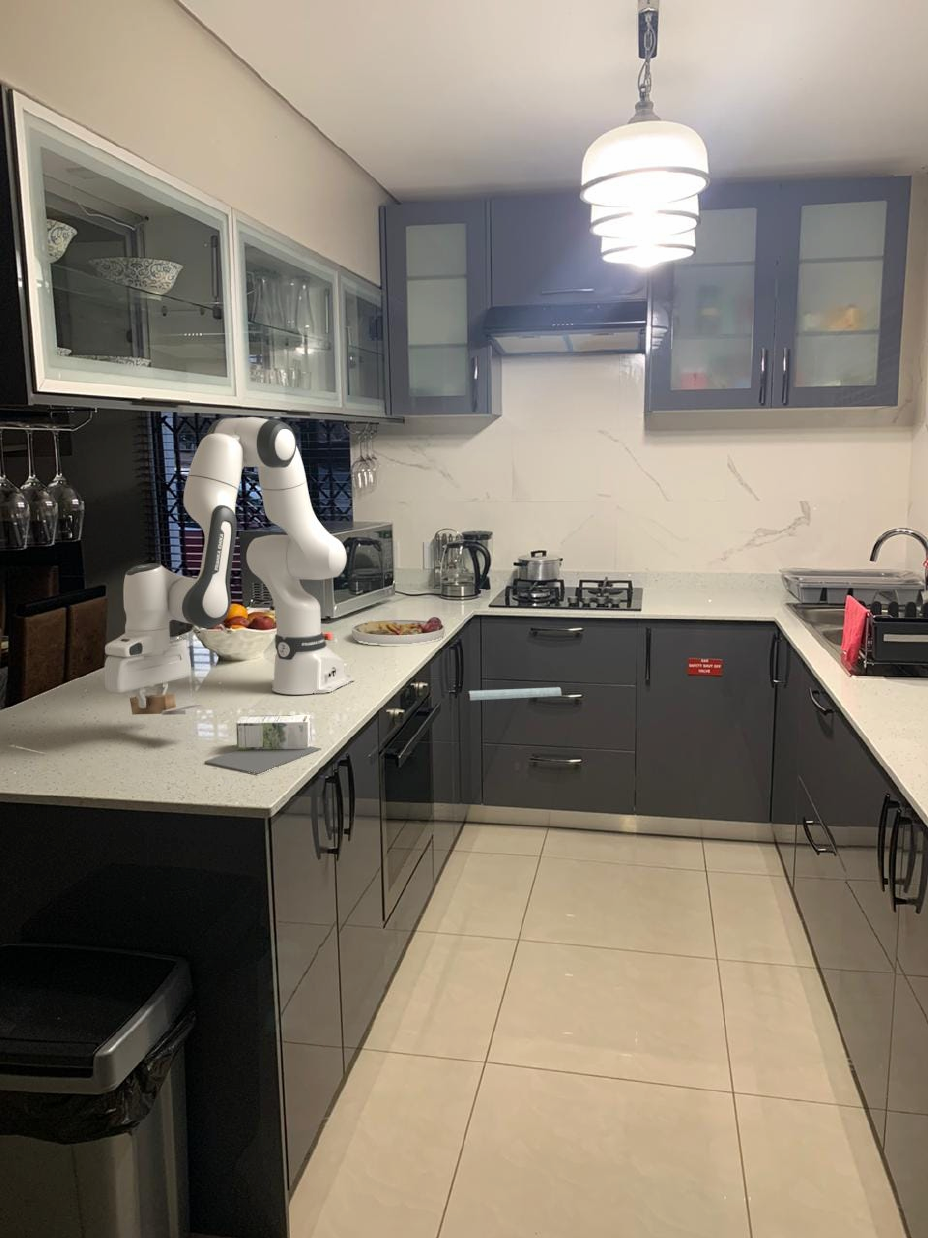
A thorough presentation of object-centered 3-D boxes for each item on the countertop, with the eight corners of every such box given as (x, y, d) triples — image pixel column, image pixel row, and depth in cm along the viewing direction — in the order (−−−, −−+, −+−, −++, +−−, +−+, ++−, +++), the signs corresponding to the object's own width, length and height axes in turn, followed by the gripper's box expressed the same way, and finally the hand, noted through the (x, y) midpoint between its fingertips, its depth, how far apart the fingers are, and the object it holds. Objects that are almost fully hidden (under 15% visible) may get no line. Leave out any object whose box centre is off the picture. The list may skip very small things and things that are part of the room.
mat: (269, 741, 199) (269, 738, 199) (321, 751, 191) (321, 748, 191) (204, 764, 184) (204, 761, 183) (258, 776, 176) (258, 773, 176)
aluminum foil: (558, 699, 234) (558, 685, 234) (565, 706, 228) (565, 692, 227) (467, 703, 231) (467, 689, 231) (471, 710, 225) (471, 695, 224)
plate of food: (358, 653, 290) (358, 628, 289) (346, 636, 319) (345, 613, 318) (454, 648, 298) (454, 623, 296) (434, 632, 326) (433, 609, 325)
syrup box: (241, 742, 196) (312, 740, 197) (236, 750, 190) (309, 749, 191) (240, 715, 195) (311, 714, 196) (235, 723, 189) (308, 721, 190)
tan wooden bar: (127, 715, 203) (125, 699, 203) (146, 710, 208) (143, 694, 207) (185, 714, 194) (182, 696, 194) (204, 709, 198) (201, 692, 198)
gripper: (176, 632, 211) (179, 693, 213) (97, 647, 194) (102, 713, 196) (196, 635, 208) (199, 697, 210) (118, 650, 191) (122, 717, 193)
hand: (151, 705), depth 203 cm, fingers closed on tan wooden bar, 2 cm apart
